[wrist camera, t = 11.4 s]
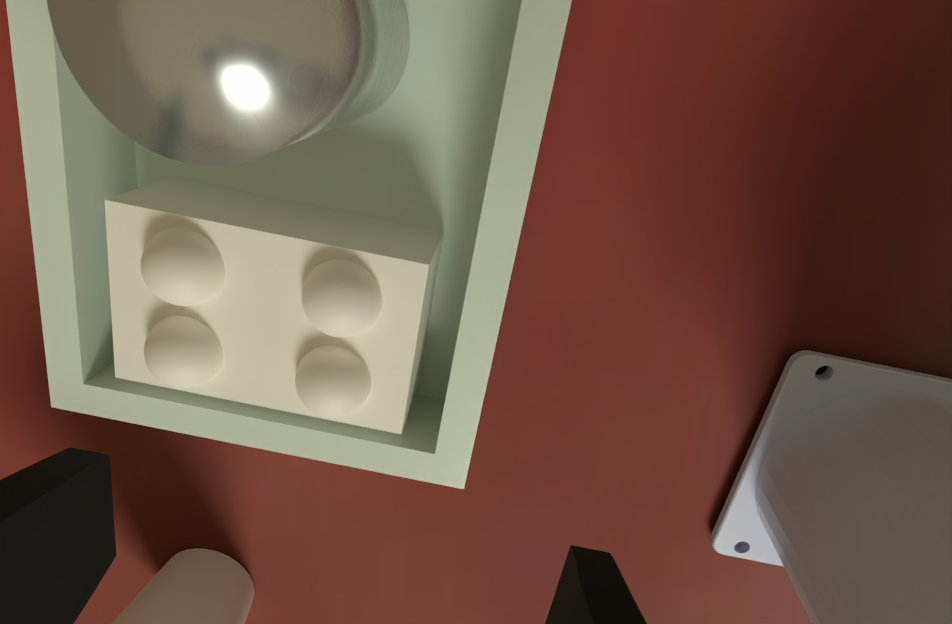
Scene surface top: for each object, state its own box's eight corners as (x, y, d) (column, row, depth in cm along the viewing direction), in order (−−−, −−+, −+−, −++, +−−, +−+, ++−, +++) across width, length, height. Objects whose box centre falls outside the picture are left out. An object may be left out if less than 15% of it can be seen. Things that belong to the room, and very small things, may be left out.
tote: (595, -143, 14) (615, -201, 11) (473, 421, 21) (463, 489, 17) (93, -245, 14) (-31, -332, 11) (125, 351, 21) (51, 407, 17)
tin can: (396, 138, 17) (315, 191, 10) (237, 104, 17) (56, 135, 10) (423, -44, 15) (345, -119, 8) (245, -83, 15) (32, -188, 8)
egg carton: (444, 231, 18) (422, 278, 14) (418, 380, 20) (394, 456, 16) (170, 176, 18) (77, 209, 14) (173, 331, 19) (91, 396, 16)
